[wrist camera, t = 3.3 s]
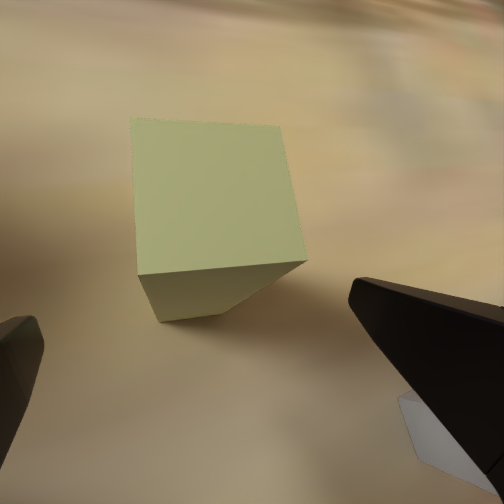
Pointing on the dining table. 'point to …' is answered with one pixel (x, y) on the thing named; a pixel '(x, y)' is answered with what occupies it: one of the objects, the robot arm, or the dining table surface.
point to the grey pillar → (438, 443)
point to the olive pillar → (211, 214)
